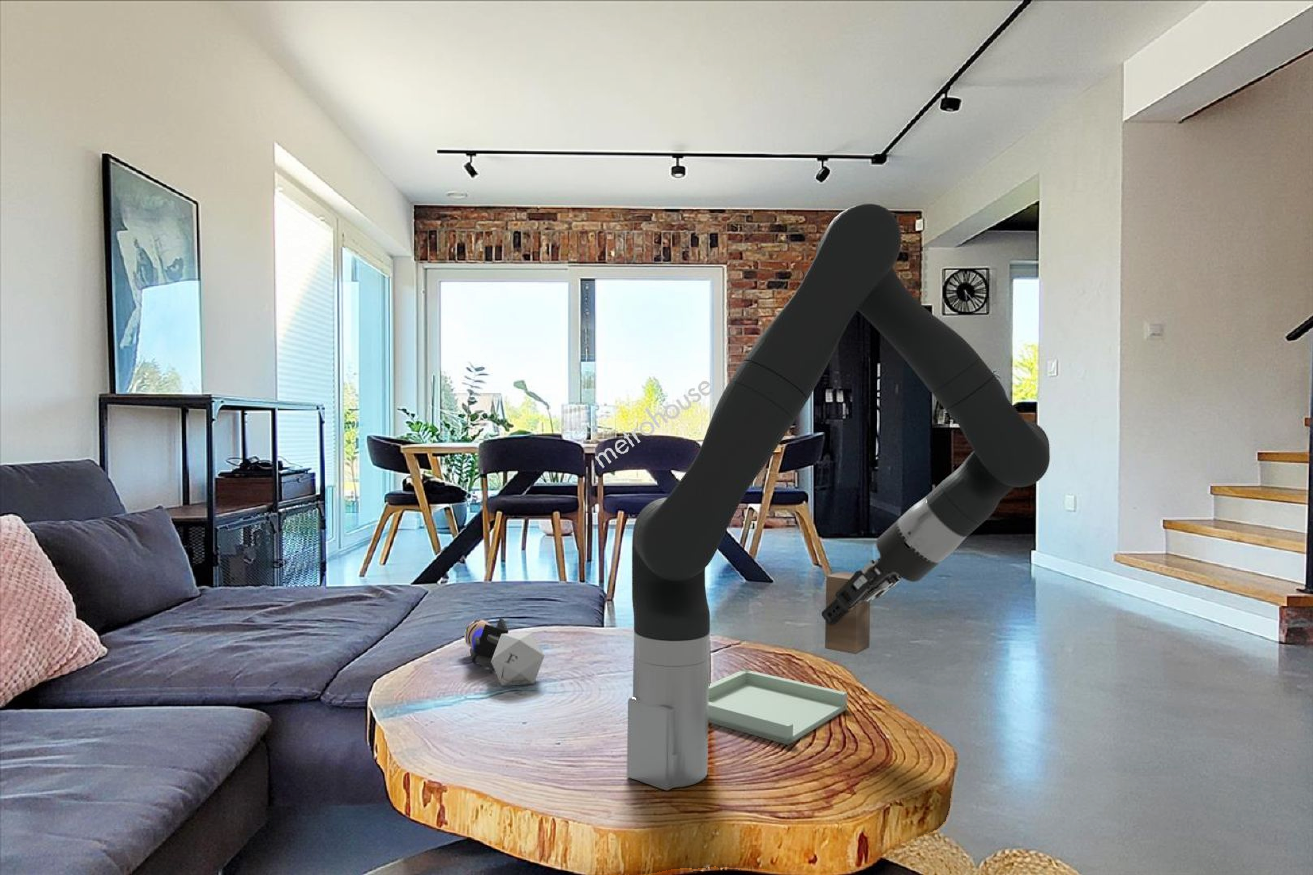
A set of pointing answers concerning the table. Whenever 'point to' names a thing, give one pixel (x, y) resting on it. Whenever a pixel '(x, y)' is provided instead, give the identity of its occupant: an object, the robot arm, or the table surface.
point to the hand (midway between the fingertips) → (834, 616)
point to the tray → (772, 705)
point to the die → (517, 658)
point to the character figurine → (484, 640)
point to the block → (847, 620)
